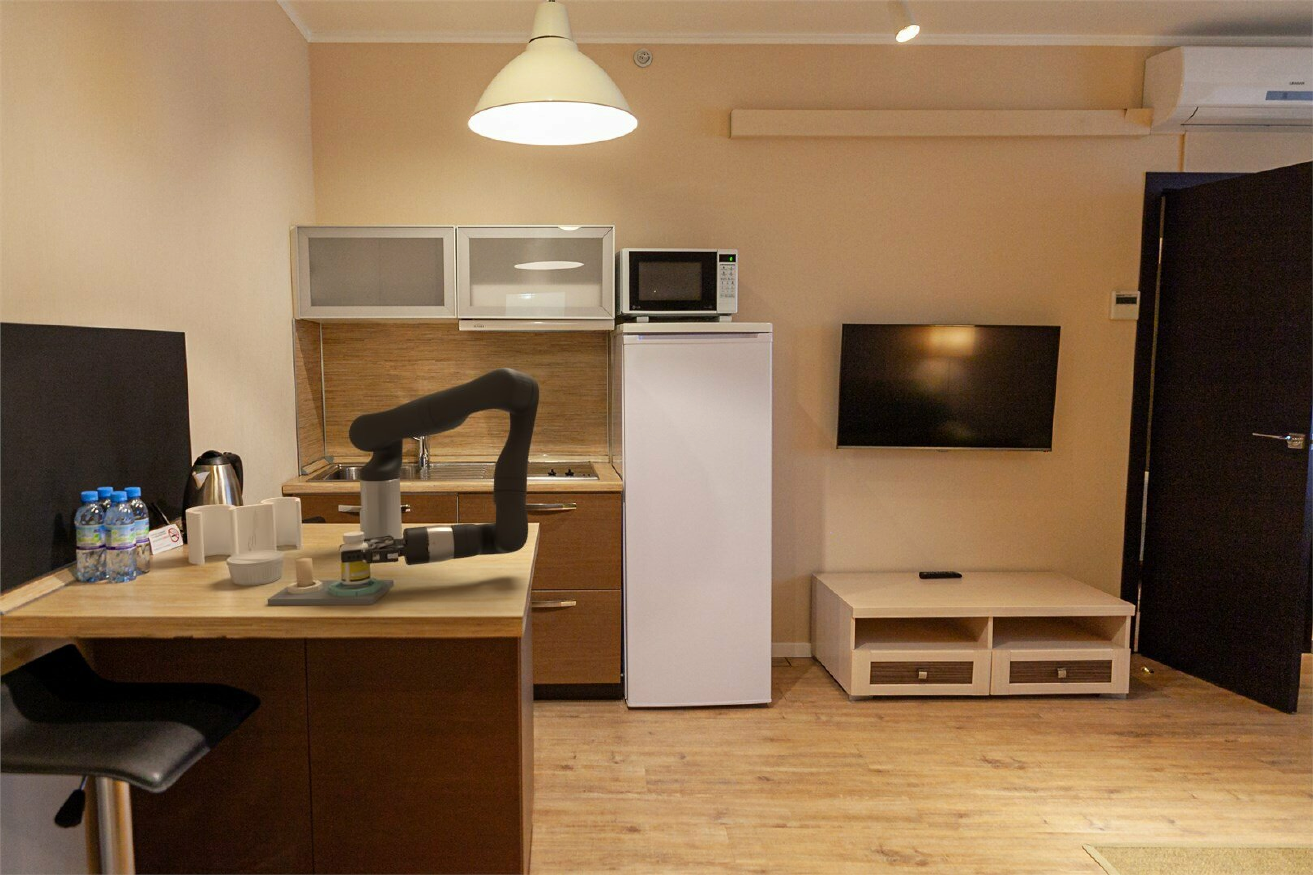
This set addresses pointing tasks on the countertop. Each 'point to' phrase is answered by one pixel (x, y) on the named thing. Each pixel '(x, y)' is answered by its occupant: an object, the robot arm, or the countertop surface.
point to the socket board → (328, 590)
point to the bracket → (243, 528)
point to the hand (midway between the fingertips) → (340, 553)
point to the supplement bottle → (354, 570)
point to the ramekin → (256, 567)
